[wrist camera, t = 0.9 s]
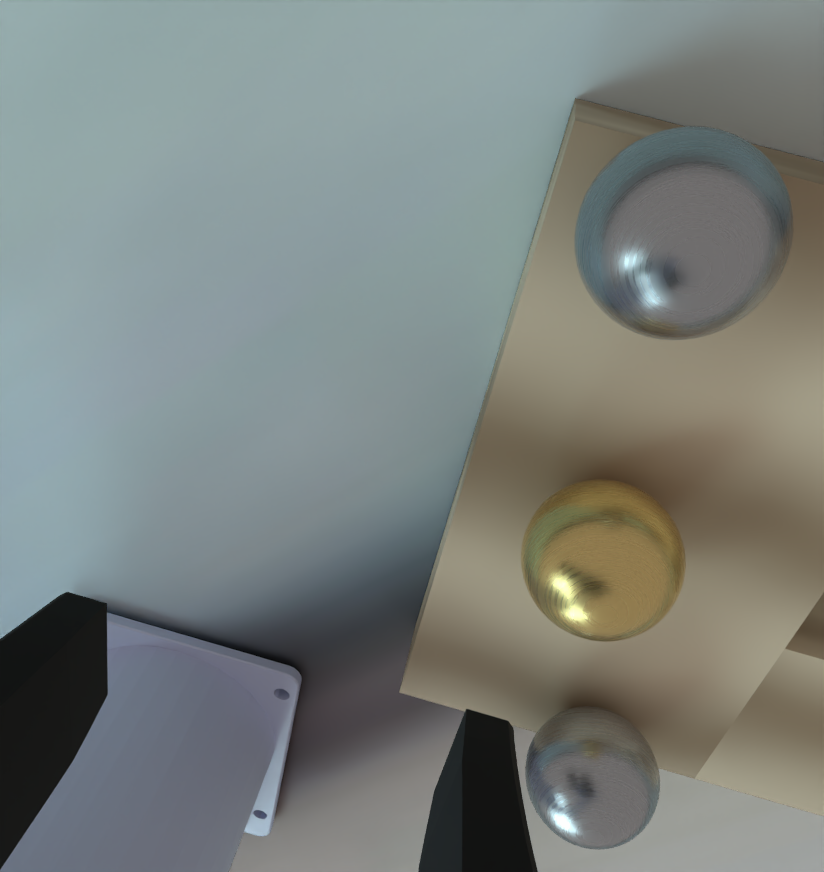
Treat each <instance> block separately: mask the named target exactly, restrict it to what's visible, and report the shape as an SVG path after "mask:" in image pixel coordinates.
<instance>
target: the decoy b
mask: <svg viewBox="0 0 824 872" xmlns="http://www.w3.org/2000/svg"><path fill="white" fill-rule="evenodd" d="M792 239H793V211H792V205H791V199H790V196H789V193H788V190H787V187H786V185H785V183H784V181H783V179H782V177H781V175H780V174H779V172H778V170H777V169H776V168H775V166H774V165H773V164H772V162H771V161H770V160H769V159H768V158H767V157H766V156H765V155H764V154H763V153H762V152H761V151H760V150H759V149H757V148H756V147H755V146H753V145H752V144H750V143H749V142H747V141H746V140H744V139H742V138H740V137H738V136H736V135H734V134H731V133H728V132H726V131H723V130H719V129H714V128H708V127H695V126H689V127H678V128H672V129H668V130H663V131H660V132H657V133H654V134H651V135H648V136H646V137H644V138H642V139H640V140H638V141H636V142H634V143H633V144H631V145H630V146H628V147H627V148H625V149H623V150H622V151H621V152H620V153H618V154H617V155H616V156H615V157H614V158H612V159H611V160H610V161H609V162H608V163H607V164H606V165H605V167H604V168H603V169H602V170H601V171H600V172H599V174H598V175H597V176H596V178H595V179H594V180H593V182H592V183H591V185H590V187H589V189H588V191H587V192H586V194H585V196H584V199H583V201H582V204H581V206H580V210H579V214H578V218H577V221H576V228H575V236H574V248H575V256H576V263H577V267H578V270H579V274H580V277H581V279H582V282H583V284H584V286H585V288H586V290H587V292H588V293H589V295H590V296H591V298H592V299H593V301H594V302H595V303H596V304H597V306H598V307H599V308H600V309H601V310H602V311H603V312H604V313H605V314H606V315H607V316H608V317H610V318H611V319H612V320H613V321H615V322H616V323H618V324H619V325H621V326H623V327H625V328H627V329H629V330H631V331H633V332H635V333H637V334H640V335H643V336H646V337H650V338H655V339H661V340H688V339H695V338H700V337H703V336H707V335H711V334H713V333H716V332H719V331H721V330H724V329H726V328H728V327H729V326H731V325H733V324H735V323H737V322H738V321H740V320H741V319H743V318H744V317H746V316H747V315H748V314H749V313H751V312H752V311H753V310H754V309H755V308H757V307H758V306H759V304H760V303H761V302H762V301H763V300H764V299H765V298H766V297H767V296H768V294H769V293H770V292H771V290H772V289H773V288H774V286H775V285H776V283H777V281H778V279H779V278H780V276H781V274H782V272H783V269H784V267H785V265H786V262H787V260H788V257H789V253H790V250H791V246H792Z"/></svg>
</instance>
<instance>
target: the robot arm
mask: <svg viewBox="0 0 824 872" xmlns="http://www.w3.org/2000/svg"><path fill="white" fill-rule="evenodd" d="M301 681H302V679H301V675H300V673H299V672H298V671H297V670H296V669H295V668H293V667H291V666H289V665H285V664H282V663H279V662H275V661H272V660H268V659H265V658H261V657H258V656H255V655H251V654H248V653H244V652H241V651H237V650H234V649H231V648H227V647H224V646H220V645H217V644H214V643H210V642H207V641H203V640H200V639H196V638H193V637H190V636H186V635H183V634H179V633H176V632H172V631H169V630H166V629H162V628H159V627H155V626H152V625H149V624H145V623H142V622H138V621H135V620H131V619H128V618H125V617H121V616H118V615H114V614H111V613H107V603H103V602H100V601H96V600H93V599H89V598H86V597H83V596H79V595H76V594H72V593H69V592H66V593H64V594H62V595H60V596H58V597H57V598H56V599H54V600H53V601H52V602H50V603H49V604H47V605H46V606H45V607H43V608H42V609H41V610H39V611H38V612H37V613H35V614H34V615H33V616H31V617H30V618H28V619H27V620H26V621H24V622H23V623H22V624H20V625H19V626H18V627H16V628H15V629H13V630H12V631H11V632H9V633H8V634H7V635H5V636H4V637H2V638H1V639H0V872H229V870H230V867H231V865H232V862H233V859H234V857H235V854H236V852H237V849H238V846H239V844H240V841H241V838H242V836H243V833H244V832H246V833H250V834H253V835H256V836H266V835H268V834H269V833H270V832H271V829H272V826H273V823H274V817H275V812H276V807H277V802H278V797H279V792H280V787H281V782H282V777H283V772H284V767H285V762H286V757H287V752H288V747H289V742H290V737H291V732H292V727H293V721H294V716H295V711H296V706H297V701H298V696H299V691H300V686H301ZM419 872H538V871H537V867H536V863H535V858H534V854H533V850H532V845H531V840H530V836H529V831H528V826H527V821H526V815H525V810H524V804H523V799H522V793H521V787H520V781H519V774H518V767H517V760H516V751H515V743H514V730H513V727H512V726H511V724H510V723H509V721H507V720H504V719H501V718H497V717H494V716H490V715H487V714H483V713H480V712H477V711H473V710H470V709H466V711H465V713H464V716H463V718H462V721H461V724H460V726H459V729H458V731H457V734H456V737H455V739H454V742H453V744H452V747H451V749H450V752H449V755H448V757H447V760H446V762H445V765H444V767H443V770H442V773H441V775H440V778H439V780H438V783H437V786H436V788H435V791H434V795H433V800H432V805H431V810H430V814H429V819H428V824H427V829H426V834H425V839H424V844H423V849H422V854H421V859H420V864H419Z"/></svg>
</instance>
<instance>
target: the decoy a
mask: <svg viewBox="0 0 824 872" xmlns="http://www.w3.org/2000/svg"><path fill="white" fill-rule="evenodd" d="M525 775H526V784H527V789H528V793H529V796H530V799H531V802H532V804H533V806H534V808H535V810H536V812H537V813H538V815H539V816H540V818H541V819H542V820H543V822H544V823H545V824H546V825H547V826H548V827H549V828H550V829H551V830H552V831H553V832H554V833H555V834H557V835H558V836H559V837H561V838H562V839H564V840H566V841H567V842H569V843H572V844H574V845H577V846H580V847H583V848H588V849H609V848H614V847H617V846H620V845H623V844H625V843H627V842H629V841H630V840H632V839H633V838H635V837H636V836H637V835H638V834H639V833H640V832H642V831H643V829H644V828H645V827H646V826H647V824H648V823H649V821H650V820H651V818H652V816H653V814H654V812H655V809H656V806H657V802H658V799H659V792H660V777H659V770H658V765H657V762H656V759H655V756H654V753H653V751H652V749H651V747H650V745H649V744H648V742H647V740H646V739H645V738H644V736H643V735H642V734H641V732H640V731H639V730H638V729H637V728H636V727H635V726H634V725H633V724H632V723H630V722H629V721H628V720H626V719H625V718H623V717H622V716H620V715H618V714H617V713H614V712H612V711H610V710H607V709H603V708H599V707H591V706H582V707H574V708H570V709H567V710H564V711H562V712H560V713H558V714H556V715H554V716H553V717H551V718H550V719H549V720H548V721H547V722H546V723H544V724H543V726H542V727H541V728H540V729H539V730H538V732H537V733H536V735H535V736H534V738H533V740H532V742H531V745H530V747H529V750H528V754H527V759H526V767H525Z"/></svg>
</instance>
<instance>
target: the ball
mask: <svg viewBox="0 0 824 872" xmlns="http://www.w3.org/2000/svg"><path fill="white" fill-rule="evenodd" d="M521 569H522V573H523V578H524V582H525V585H526V587H527V590H528V592H529V594H530V596H531V598H532V600H533V601H534V603H535V604H536V606H537V607H538V608H539V610H540V611H541V612H542V613H543V614H544V615H545V616H546V617H547V618H548V619H549V620H550V621H551V622H552V623H554V624H555V625H556V626H558V627H559V628H561V629H563V630H564V631H566V632H568V633H570V634H573V635H575V636H577V637H580V638H583V639H587V640H592V641H601V642H612V641H620V640H625V639H629V638H632V637H635V636H637V635H640V634H642V633H644V632H646V631H648V630H649V629H651V628H652V627H654V626H655V625H656V624H657V623H659V622H660V621H661V620H662V619H663V618H664V617H665V616H666V615H667V614H668V613H669V611H670V610H671V608H672V607H673V605H674V604H675V602H676V601H677V599H678V596H679V594H680V592H681V589H682V586H683V582H684V577H685V569H686V559H685V549H684V545H683V542H682V538H681V535H680V532H679V530H678V528H677V526H676V524H675V522H674V521H673V519H672V518H671V516H670V515H669V513H668V512H667V511H666V510H665V509H664V508H663V507H662V505H661V504H660V503H659V502H658V501H656V500H655V499H654V498H653V497H652V496H650V495H649V494H647V493H645V492H644V491H642V490H641V489H639V488H636V487H634V486H632V485H629V484H626V483H623V482H619V481H614V480H605V479H596V480H587V481H582V482H577V483H574V484H571V485H569V486H567V487H564V488H562V489H561V490H559V491H557V492H556V493H554V494H553V495H551V496H550V497H549V498H548V499H547V500H545V501H544V502H543V503H542V505H541V506H540V507H539V508H538V509H537V510H536V512H535V513H534V515H533V516H532V518H531V520H530V522H529V524H528V526H527V528H526V530H525V533H524V537H523V541H522V547H521Z"/></svg>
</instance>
